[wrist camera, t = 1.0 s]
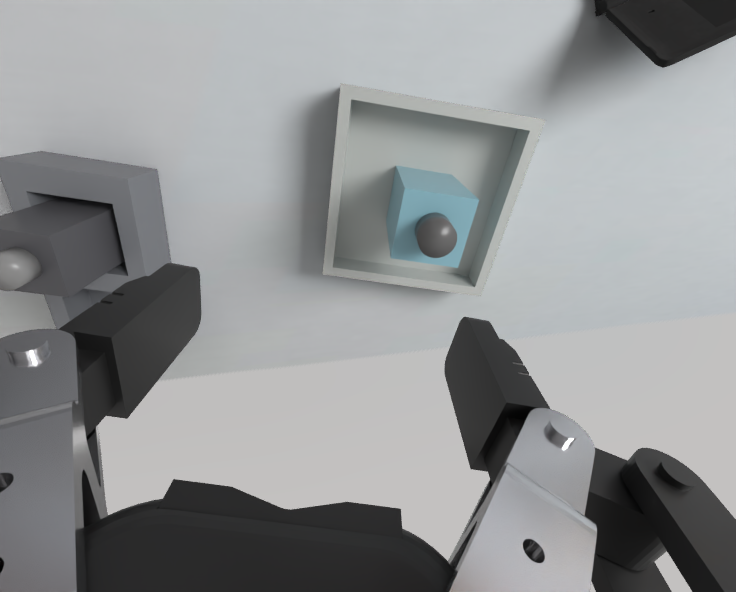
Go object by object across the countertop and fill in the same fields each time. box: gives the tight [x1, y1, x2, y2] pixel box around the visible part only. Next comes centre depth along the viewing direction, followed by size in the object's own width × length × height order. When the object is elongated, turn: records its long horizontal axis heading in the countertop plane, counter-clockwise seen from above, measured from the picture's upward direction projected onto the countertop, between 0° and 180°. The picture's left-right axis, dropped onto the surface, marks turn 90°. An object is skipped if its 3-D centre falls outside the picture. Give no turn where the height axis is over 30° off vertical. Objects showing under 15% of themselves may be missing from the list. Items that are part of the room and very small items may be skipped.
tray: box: [323, 84, 545, 296], centre depth 24 cm, size 12×12×3 cm
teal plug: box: [386, 166, 479, 268], centre depth 21 cm, size 4×4×8 cm
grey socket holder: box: [0, 151, 171, 330], centre depth 27 cm, size 16×8×4 cm, turn 171°
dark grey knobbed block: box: [0, 197, 125, 297], centre depth 22 cm, size 4×4×8 cm
